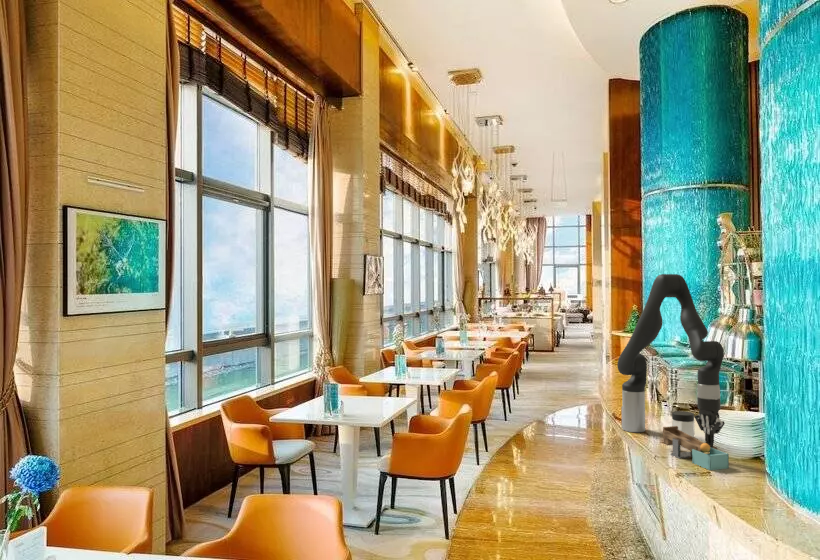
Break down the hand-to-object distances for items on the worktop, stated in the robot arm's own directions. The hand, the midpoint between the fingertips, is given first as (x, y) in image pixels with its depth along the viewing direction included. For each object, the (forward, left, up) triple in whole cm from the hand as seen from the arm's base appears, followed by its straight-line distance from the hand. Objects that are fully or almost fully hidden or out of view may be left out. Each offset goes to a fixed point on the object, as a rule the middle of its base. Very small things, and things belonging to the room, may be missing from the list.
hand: (709, 444), depth 223 cm
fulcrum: (-7, -5, -6) cm, 10 cm away
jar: (-22, +6, -6) cm, 23 cm away
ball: (+4, -5, 0) cm, 6 cm away
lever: (-7, -3, -4) cm, 9 cm away
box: (+6, -5, -6) cm, 10 cm away
